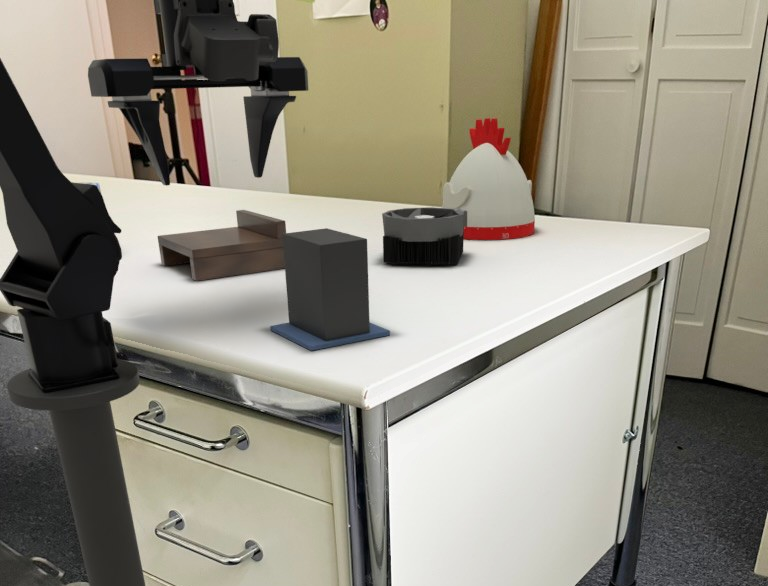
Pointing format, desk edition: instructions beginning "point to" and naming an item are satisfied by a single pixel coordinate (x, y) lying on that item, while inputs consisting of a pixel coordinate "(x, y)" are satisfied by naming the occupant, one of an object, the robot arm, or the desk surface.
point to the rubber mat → (317, 343)
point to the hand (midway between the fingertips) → (213, 181)
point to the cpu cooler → (423, 235)
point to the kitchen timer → (491, 188)
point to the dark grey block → (327, 283)
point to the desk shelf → (228, 248)
